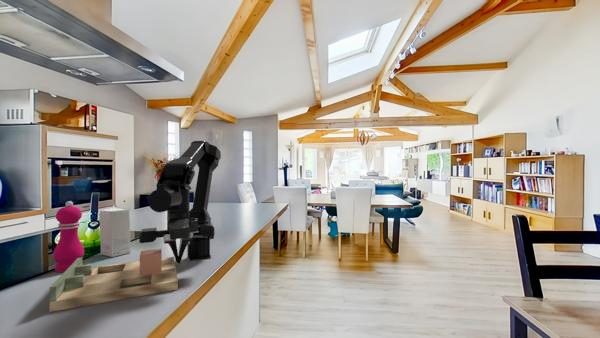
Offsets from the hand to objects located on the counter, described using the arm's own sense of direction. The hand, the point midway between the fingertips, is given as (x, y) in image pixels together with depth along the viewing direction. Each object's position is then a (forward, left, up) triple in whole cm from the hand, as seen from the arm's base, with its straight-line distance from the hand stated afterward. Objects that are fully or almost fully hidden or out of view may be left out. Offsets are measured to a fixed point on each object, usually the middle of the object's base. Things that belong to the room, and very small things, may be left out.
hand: (178, 263), depth 78 cm
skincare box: (+19, -32, -3) cm, 37 cm away
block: (+7, 0, -1) cm, 7 cm away
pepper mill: (+29, -20, -3) cm, 35 cm away
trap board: (+13, 0, -3) cm, 13 cm away
